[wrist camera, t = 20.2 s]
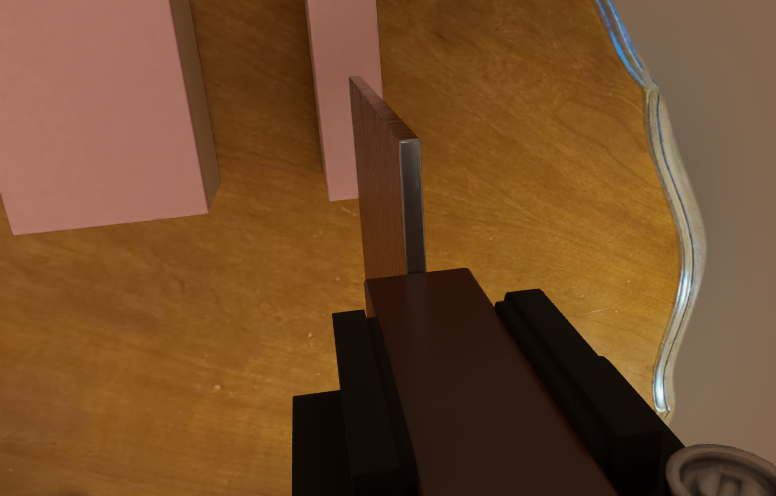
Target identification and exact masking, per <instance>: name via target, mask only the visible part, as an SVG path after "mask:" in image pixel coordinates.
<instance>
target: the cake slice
mask: <svg viewBox="0 0 776 496" xmlns="http://www.w3.org/2000/svg"><path fill="white" fill-rule="evenodd" d="M304 3H305V12H306V21H307V30H308V39H309V48H310V57H311V66H312V75H313V84H314V92H315V101H316V110H317V119H318V128H319V137H320V146H321V155H322V164H323V173H324V178H325V183H326V188H327V193H328V199H329V201H337V200H346V199H355V198H359V196H358V184H357V173H356V161H355V149H354V137H353V125H352V114H351V102H350V90H349V77H350V76H360V77H361V78H362V79H363V80H364V81H365V82H366V83H367V84H368V85H369V86H370V87H371V88H372V89H373V90H374V91H375V92H376V93H377V95H378V96H379V97H380V98H381V99H382V100H383V91H382V77H381V63H380V50H379V36H378V23H377V9H376V0H304Z"/></svg>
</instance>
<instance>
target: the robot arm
mask: <svg viewBox="0 0 776 496" xmlns="http://www.w3.org/2000/svg"><path fill="white" fill-rule="evenodd" d="M494 308H495V309H496V311H497V312H498V314H499V315H500V317H501V318H502V320H503V321H504V323H505V324H506V326H507V327H508V329H509V330H510V332H511V334H512V335H513V337H514V338H515V340H516V341H517V343H518V344H519V346H520V347H521V349H522V350H523V352H524V353H525V355H526V356H527V358H528V359H529V361H530V362H531V364H532V365H533V367H534V368H535V370H536V371H537V373H538V374H539V376H540V377H541V379H542V380H543V382H544V383H545V385H546V386H547V388H548V389H549V391H550V392H551V394H552V395H553V397H554V398H555V400H556V401H557V403H558V404H559V406H560V407H561V409H562V411H563V412H564V414H565V415H566V417H567V418H568V420H569V421H570V423H571V424H572V426H573V427H574V429H575V430H576V432H577V433H578V435H579V436H580V438H581V439H582V441H583V442H584V444H585V445H586V447H587V448H588V450H589V451H590V453H591V454H592V456H593V457H594V458H595V459H596V461H597V462H598V464H599V465H600V467H601V468H602V470H603V471H604V473H605V474H606V476H607V478H608V479H609V481H610V482H611V484H612V485H613V487H614V488H615V490H616V491H617V493H618V494H619V496H776V466H775V465H773V464H772V463H770V462H769V461H767V460H765V459H763V458H761V457H759V456H757V455H755V454H753V453H750V452H747V451H744V450H741V449H737V448H734V447H730V446H723V445H717V444H700V445H693V446H689V447H685V446H684V445H683V444H682V443H681V442H680V440H679V439H678V438H677V437H676V436H675V435H674V433H673V432H672V431H671V430H670V429H669V428H668V427H667V425H666V424H665V423H664V422H663V421H662V420H661V419H660V418H659V416H658V415H657V414H656V413H655V412H654V411H653V410H652V409H651V407H650V406H649V405H648V404H647V403H646V402H645V401H644V399H643V398H642V397H641V396H640V395H639V394H638V393H637V392H636V390H635V389H634V388H633V387H632V386H631V385H630V384H629V383H628V381H627V380H626V379H625V378H624V377H623V376H622V375H621V373H620V372H619V371H618V370H617V369H616V368H615V367H614V366H613V364H612V363H611V362H610V361H609V360H608V359H606V358H605V357H603V356H598V355H597V354H596V352H595V351H594V350H593V349H592V348H591V347H590V346H589V344H588V343H587V342H586V341H585V340H584V339H583V337H582V336H581V335H580V334H579V333H578V332H577V331H576V329H575V328H574V327H573V326H572V325H571V324H570V322H569V321H568V320H567V319H566V318H565V317H564V316H563V314H562V313H561V312H560V311H559V310H558V309H557V307H556V306H555V305H554V304H553V303H552V302H551V301H550V299H549V298H548V297H547V296H546V295H545V294H544V292H543V291H542V290H540V289H531V290H522V291H514V292H507V293H506V294H505V298H504V301H500V302H496V303H495V307H494ZM332 318H333V327H334V337H335V346H336V355H337V365H338V374H339V383H340V390H336V391H329V392H321V393H314V394H306V395H299V396H293V419H292V496H416V485H417V483H418V482H419V476H418V469H417V463H416V457H415V453H414V449H413V445H412V441H411V437H410V434H409V430H408V426H407V423H406V419H405V415H404V411H403V408H402V404H401V400H400V397H399V393H398V389H397V385H396V382H395V378H394V374H393V371H392V367H391V363H390V359H389V356H388V352H387V348H386V345H385V341H384V337H383V333H382V330H381V326H380V322H379V319H378V316H376V317H368V318H366V315H365V311H364V310H355V311H347V312H338V313H332Z"/></svg>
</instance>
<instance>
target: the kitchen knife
mask: <svg viewBox="0 0 776 496" xmlns="http://www.w3.org/2000/svg"><path fill="white" fill-rule="evenodd" d="M349 90H350V102H351V114H352V125H353V137H354V149H355V161H356V173H357V184H358V196H359V208H360V220H361V232H362V244H363V255H364V267H365V279H366V280H365V282H364V288H365V300H366V312H367V318H368V317H376V316H378V319H379V322H380V326H381V330H382V333H383V337H384V341H385V345H386V348H387V352H388V356H389V359H390V363H391V367H392V371H393V374H394V378H395V382H396V385H397V389H398V393H399V397H400V400H401V404H402V408H403V411H404V415H405V419H406V423H407V426H408V430H409V434H410V437H411V441H412V445H413V449H414V453H415V457H416V463H417V469H418V476H419V482H418V483H417V485H416V496H619V494H618V493H617V491H616V490H615V488H614V487H613V485H612V484H611V482H610V481H609V479H608V478H607V476H606V474H605V473H604V471H603V470H602V468H601V467H600V465H599V464H598V462H597V461H596V459H595V458H594V457H593V456H592V454H591V453H590V451H589V450H588V448H587V447H586V445H585V444H584V442H583V441H582V439H581V438H580V436H579V435H578V433H577V432H576V430H575V429H574V427H573V426H572V424H571V423H570V421H569V420H568V418H567V417H566V415H565V414H564V412H563V411H562V409H561V407H560V406H559V404H558V403H557V401H556V400H555V398H554V397H553V395H552V394H551V392H550V391H549V389H548V388H547V386H546V385H545V383H544V382H543V380H542V379H541V377H540V376H539V374H538V373H537V371H536V370H535V368H534V367H533V365H532V364H531V362H530V361H529V359H528V358H527V356H526V355H525V353H524V352H523V350H522V349H521V347H520V346H519V344H518V343H517V341H516V340H515V338H514V337H513V335H512V334H511V332H510V330H509V329H508V327H507V326H506V324H505V323H504V321H503V320H502V318H501V317H500V315H499V314H498V312H497V311H496V309H495V308H494V306H493V305H492V303H491V302H490V300H489V299H488V297H487V296H486V294H485V293H484V291H483V290H482V288H481V287H480V285H479V284H478V282H477V281H476V279H475V278H474V276H473V275H472V273H471V272H470V270H469V269H468V268H459V269H450V270H442V271H433V272H426V250H425V229H424V207H423V186H422V164H421V143H420V139H419V138H418V137H417V136H416V135H415V134H414V132H413V131H412V130H411V129H410V128H409V127H408V126H407V125H406V124H405V123H404V122H403V121H402V120H401V119H400V118H399V117H398V116H397V115H396V114H395V112H394V111H393V110H392V109H391V108H390V107H389V106H388V105H387V104H386V103H385V102H384V101H383V100H382V99H381V98H380V97H379V96H378V95H377V93H376V92H375V91H374V90H373V89H372V88H371V87H370V86H369V85H368V84H367V83H366V82H365V81H364V80H363V79H362V78H361V77H360V76H350V77H349Z"/></svg>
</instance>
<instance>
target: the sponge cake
mask: <svg viewBox="0 0 776 496" xmlns="http://www.w3.org/2000/svg"><path fill="white" fill-rule="evenodd" d="M220 183H221V180H220V174H219V169H218V163H217V157H216V152H215V146H214V140H213V134H212V129H211V123H210V117H209V111H208V106H207V100H206V94H205V88H204V83H203V77H202V71H201V66H200V60H199V54H198V48H197V43H196V37H195V31H194V25H193V20H192V14H191V8H190V3H189V0H0V193H1V197H2V200H3V203H4V207H5V210H6V213H7V216H8V220H9V223H10V226H11V229H12V233H13V235H22V234H31V233H40V232H49V231H58V230H67V229H76V228H85V227H94V226H103V225H112V224H121V223H130V222H138V221H147V220H156V219H165V218H174V217H183V216H192V215H201V214H208V213H209V210H210V208H211V206H212V203H213V201H214V198H215V196H216V193H217V191H218V188H219V186H220Z"/></svg>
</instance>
